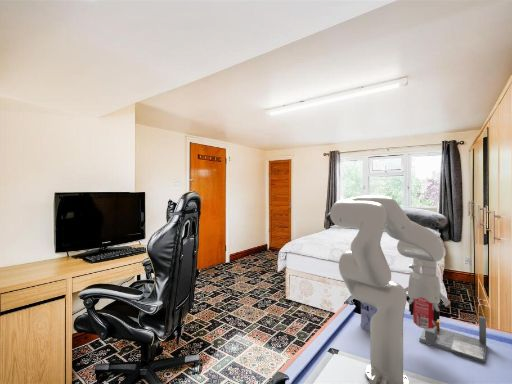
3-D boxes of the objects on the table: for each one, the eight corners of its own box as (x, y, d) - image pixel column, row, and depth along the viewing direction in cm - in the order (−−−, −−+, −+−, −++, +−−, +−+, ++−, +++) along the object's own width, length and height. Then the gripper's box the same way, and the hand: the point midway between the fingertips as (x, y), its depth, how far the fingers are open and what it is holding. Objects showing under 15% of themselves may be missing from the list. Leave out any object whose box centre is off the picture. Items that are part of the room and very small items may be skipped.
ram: (434, 342, 103) (434, 333, 103) (425, 339, 105) (425, 330, 105) (440, 328, 113) (440, 320, 113) (431, 325, 115) (431, 318, 115)
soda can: (428, 322, 102) (428, 291, 103) (439, 331, 95) (439, 298, 96) (409, 321, 103) (409, 290, 104) (418, 329, 96) (419, 296, 97)
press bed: (484, 364, 92) (484, 332, 92) (418, 342, 105) (418, 314, 105) (486, 345, 103) (486, 317, 104) (426, 327, 117) (426, 303, 117)
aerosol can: (356, 324, 120) (356, 280, 120) (369, 321, 123) (368, 278, 123) (370, 332, 113) (370, 286, 113) (383, 328, 116) (383, 283, 116)
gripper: (396, 267, 103) (395, 312, 103) (451, 276, 92) (450, 328, 91) (401, 264, 109) (401, 307, 108) (454, 273, 97) (453, 322, 96)
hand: (423, 317), depth 99 cm, fingers closed on soda can, 7 cm apart
